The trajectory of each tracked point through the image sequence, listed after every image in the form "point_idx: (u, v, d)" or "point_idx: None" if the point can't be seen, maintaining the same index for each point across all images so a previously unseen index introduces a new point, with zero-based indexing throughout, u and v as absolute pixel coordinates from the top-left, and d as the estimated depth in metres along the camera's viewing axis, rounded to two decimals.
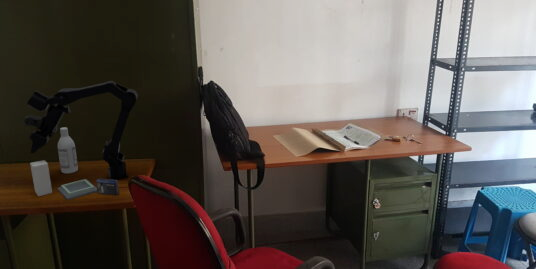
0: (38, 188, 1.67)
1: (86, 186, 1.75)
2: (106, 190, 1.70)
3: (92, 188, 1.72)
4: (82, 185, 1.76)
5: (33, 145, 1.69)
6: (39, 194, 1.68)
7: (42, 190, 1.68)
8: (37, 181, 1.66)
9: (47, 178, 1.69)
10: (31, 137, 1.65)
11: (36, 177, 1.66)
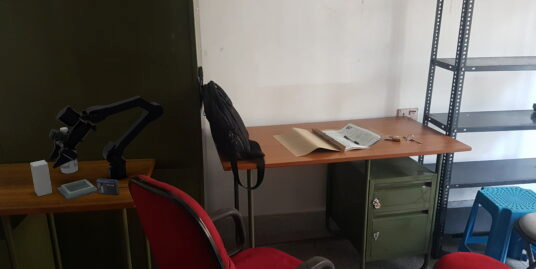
0: (38, 188, 1.67)
1: (86, 186, 1.75)
2: (106, 190, 1.70)
3: (92, 188, 1.72)
4: (82, 185, 1.76)
5: (58, 160, 1.66)
6: (39, 194, 1.68)
7: (42, 190, 1.68)
8: (37, 181, 1.66)
9: (47, 178, 1.69)
10: (63, 152, 1.63)
11: (36, 177, 1.66)
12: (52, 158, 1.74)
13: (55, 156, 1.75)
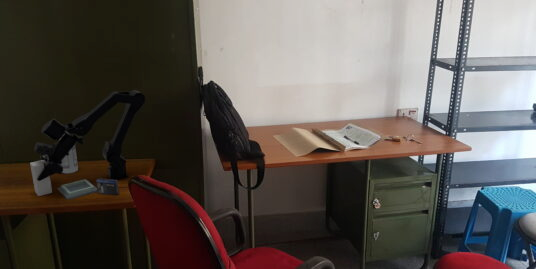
0: (38, 188, 1.67)
1: (86, 186, 1.75)
2: (106, 190, 1.70)
3: (92, 188, 1.72)
4: (82, 185, 1.76)
5: (43, 172, 1.65)
6: (39, 194, 1.68)
7: (42, 190, 1.68)
8: (37, 181, 1.66)
9: (47, 178, 1.69)
10: (48, 166, 1.61)
11: (36, 177, 1.66)
12: None
13: None
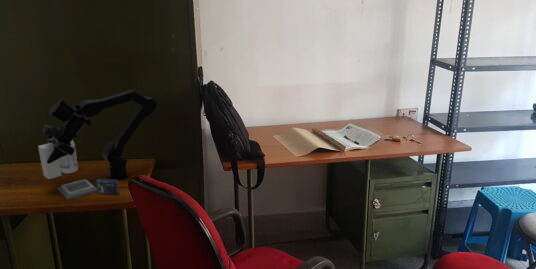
0: (48, 171, 1.65)
1: (86, 186, 1.75)
2: (106, 190, 1.70)
3: (92, 188, 1.72)
4: (82, 185, 1.76)
5: (53, 155, 1.64)
6: (49, 177, 1.66)
7: (52, 173, 1.66)
8: (47, 164, 1.64)
9: (56, 160, 1.67)
10: (60, 147, 1.59)
11: (46, 159, 1.64)
12: None
13: None
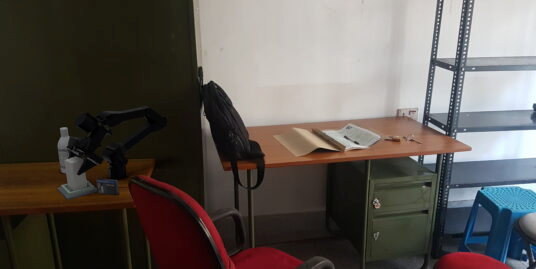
0: (75, 184, 1.69)
1: None
2: (106, 190, 1.70)
3: (92, 188, 1.72)
4: None
5: (83, 166, 1.67)
6: (76, 190, 1.70)
7: (79, 186, 1.70)
8: (75, 177, 1.68)
9: (83, 174, 1.71)
10: (91, 157, 1.65)
11: (74, 173, 1.68)
12: None
13: None
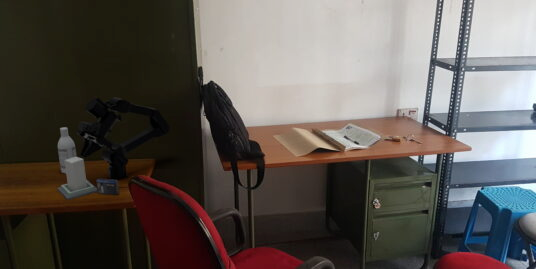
0: (75, 184, 1.69)
1: None
2: (106, 190, 1.70)
3: (92, 188, 1.72)
4: None
5: (89, 149, 1.71)
6: (76, 190, 1.70)
7: (79, 186, 1.70)
8: (75, 177, 1.68)
9: (83, 174, 1.71)
10: (102, 142, 1.67)
11: (74, 173, 1.68)
12: (83, 153, 1.73)
13: (86, 151, 1.74)
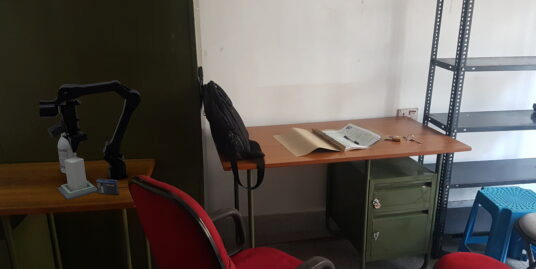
0: (75, 184, 1.69)
1: None
2: (106, 190, 1.70)
3: (92, 188, 1.72)
4: None
5: (72, 145, 1.75)
6: (76, 190, 1.70)
7: (79, 186, 1.70)
8: (75, 177, 1.68)
9: (83, 174, 1.71)
10: (73, 141, 1.67)
11: (74, 173, 1.68)
12: None
13: None
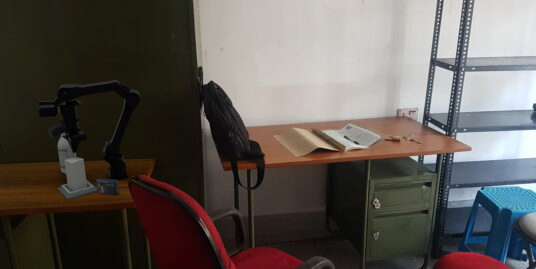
0: (75, 184, 1.69)
1: None
2: (106, 190, 1.70)
3: (92, 188, 1.72)
4: None
5: (72, 145, 1.75)
6: (76, 190, 1.70)
7: (79, 186, 1.70)
8: (75, 177, 1.68)
9: (83, 174, 1.71)
10: (73, 141, 1.67)
11: (74, 173, 1.68)
12: None
13: None
